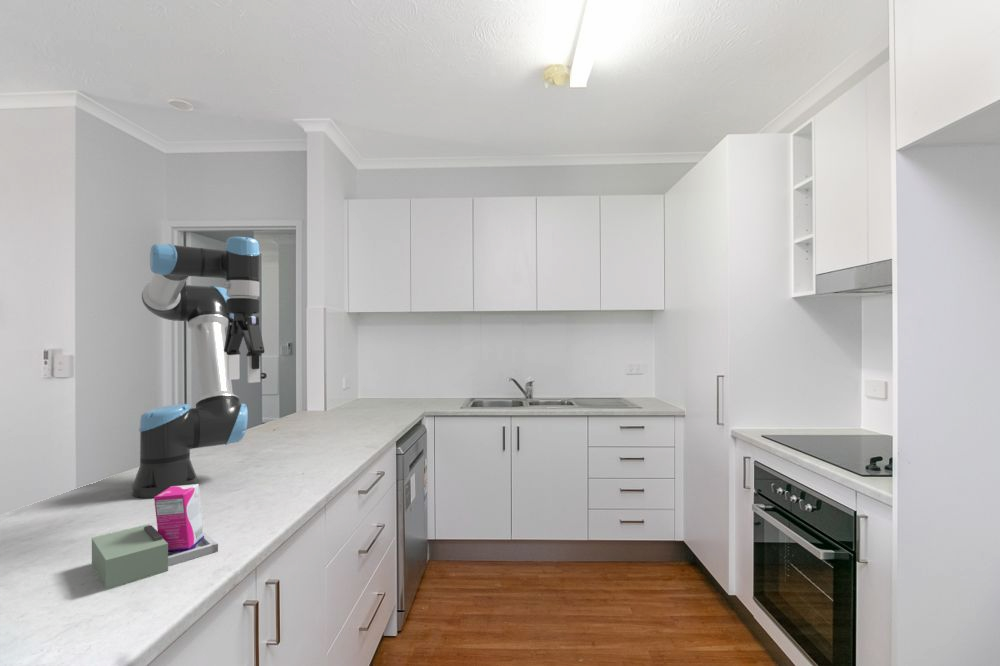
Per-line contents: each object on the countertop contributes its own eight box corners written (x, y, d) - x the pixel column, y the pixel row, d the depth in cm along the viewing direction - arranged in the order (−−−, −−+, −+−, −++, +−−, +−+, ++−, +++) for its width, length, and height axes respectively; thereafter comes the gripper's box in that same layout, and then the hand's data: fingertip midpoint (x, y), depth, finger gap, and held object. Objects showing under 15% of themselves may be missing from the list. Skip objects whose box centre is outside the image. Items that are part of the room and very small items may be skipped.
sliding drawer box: (91, 564, 93) (91, 534, 93) (198, 535, 106) (198, 509, 106) (106, 589, 83) (106, 556, 83) (221, 554, 97) (221, 525, 97)
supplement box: (175, 540, 100) (170, 485, 100) (205, 537, 101) (201, 483, 100) (157, 554, 95) (153, 496, 94) (189, 551, 95) (185, 493, 95)
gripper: (210, 300, 131) (210, 379, 131) (246, 294, 114) (246, 385, 114) (240, 301, 137) (240, 377, 136) (278, 296, 120) (279, 382, 120)
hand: (243, 381), depth 125 cm, fingers open, 13 cm apart
